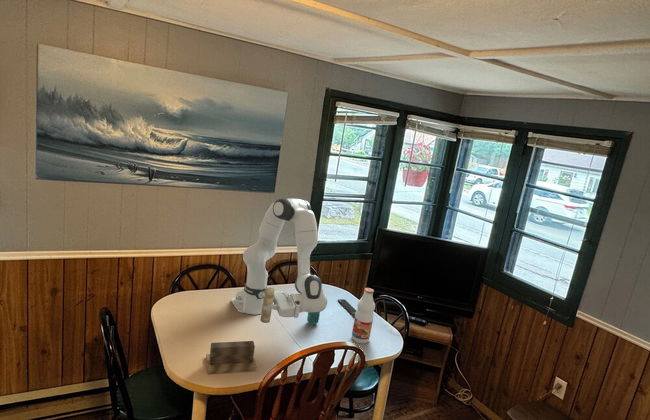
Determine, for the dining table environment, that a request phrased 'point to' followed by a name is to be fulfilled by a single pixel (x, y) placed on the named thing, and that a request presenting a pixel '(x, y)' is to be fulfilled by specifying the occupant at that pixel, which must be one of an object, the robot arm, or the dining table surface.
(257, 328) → the dining table surface
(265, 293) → the maple dowel
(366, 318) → the fruit juice
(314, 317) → the beverage bottle
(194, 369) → the dining table surface
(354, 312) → the remote control
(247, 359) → the fulcrum ridge
